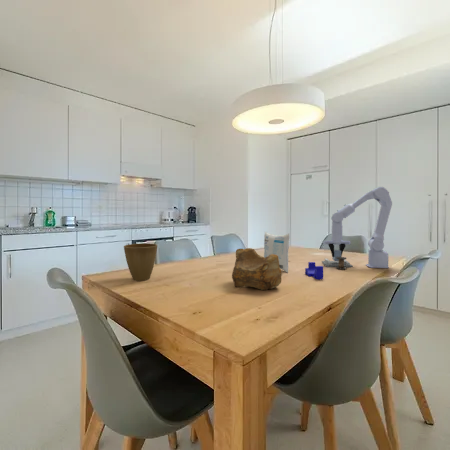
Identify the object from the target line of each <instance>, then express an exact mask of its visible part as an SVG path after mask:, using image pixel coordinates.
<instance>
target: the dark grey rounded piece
mask: <svg viewBox="0 0 450 450" xmlns="http://www.w3.org/2000/svg"><path fill="white" fill-rule="evenodd" d="M336 259H339V266H338V267H335V268H336V270H342V269H343V270H344V269H345V270H347V267H344V259H345V260H347V257H345V256H342V257H336ZM345 270H344V271H345Z"/></svg>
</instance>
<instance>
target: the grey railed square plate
mask: <svg viewBox="0 0 450 450" xmlns="http://www.w3.org/2000/svg"><path fill="white" fill-rule="evenodd" d="M321 263H322V265H324V266H325V268H336V267H338V266H339V261H334V260H329V258H324V260H321ZM344 267H346V268H351V267H354V265H352V264H351V263H350V261H348V260H347V259H344Z"/></svg>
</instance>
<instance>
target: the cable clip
mask: <svg viewBox="0 0 450 450" xmlns="http://www.w3.org/2000/svg"><path fill="white" fill-rule="evenodd" d="M307 265H308V266H307V267H306V268H304V270H305V271H304V273H305V275H307V276H308V277H309V278H310V277H312V278H314V279H315V280H319V281H320V279H321V280H322V279H323V280H324V266H323V265H316V262H315V261H309V262H308V263H307ZM323 280H322V281H323Z"/></svg>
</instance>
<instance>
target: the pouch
mask: <svg viewBox="0 0 450 450" xmlns="http://www.w3.org/2000/svg"><path fill="white" fill-rule="evenodd" d="M263 241H264V242H263V246H264V248H263V257H264V258H266V257H267V256H269V255H271V254H275V255H277V256H278V258H279V267H280V269H281V271H284V272H285V273H287V274H288V273H289V245H290V233H287V234H284V235H283V234H282V235H279V234H278V235H276V234H272V233H268V231H264V240H263Z"/></svg>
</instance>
